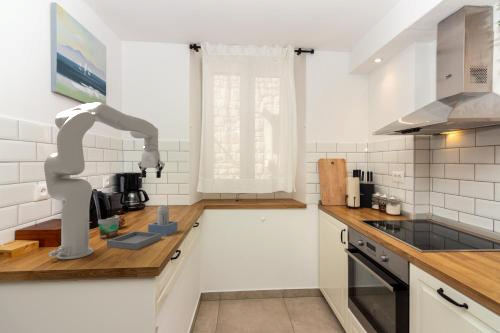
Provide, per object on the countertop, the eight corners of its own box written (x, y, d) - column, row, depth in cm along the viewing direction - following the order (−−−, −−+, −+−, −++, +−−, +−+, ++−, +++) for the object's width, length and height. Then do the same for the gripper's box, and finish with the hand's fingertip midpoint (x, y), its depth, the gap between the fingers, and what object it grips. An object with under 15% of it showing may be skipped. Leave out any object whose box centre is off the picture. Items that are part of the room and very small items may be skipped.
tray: (136, 250, 111) (136, 243, 111) (106, 246, 116) (106, 240, 116) (161, 238, 129) (161, 233, 129) (135, 236, 133) (135, 230, 133)
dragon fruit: (124, 228, 156) (111, 236, 144) (113, 220, 156) (99, 227, 144) (131, 218, 154) (118, 225, 142) (119, 209, 154) (106, 216, 142)
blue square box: (165, 236, 133) (165, 225, 133) (148, 234, 136) (148, 224, 136) (177, 231, 144) (177, 221, 144) (160, 229, 147) (160, 220, 147)
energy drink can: (161, 235, 136) (161, 207, 136) (155, 233, 140) (155, 205, 140) (170, 232, 140) (171, 205, 140) (165, 231, 144) (165, 204, 144)
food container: (108, 240, 126) (108, 220, 126) (97, 239, 127) (97, 219, 127) (125, 233, 138) (125, 215, 138) (115, 233, 139) (115, 215, 139)
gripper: (134, 148, 146) (134, 177, 146) (160, 147, 141) (160, 178, 141) (142, 148, 153) (142, 177, 153) (168, 148, 148) (168, 177, 149)
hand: (151, 177), depth 147 cm, fingers open, 9 cm apart
